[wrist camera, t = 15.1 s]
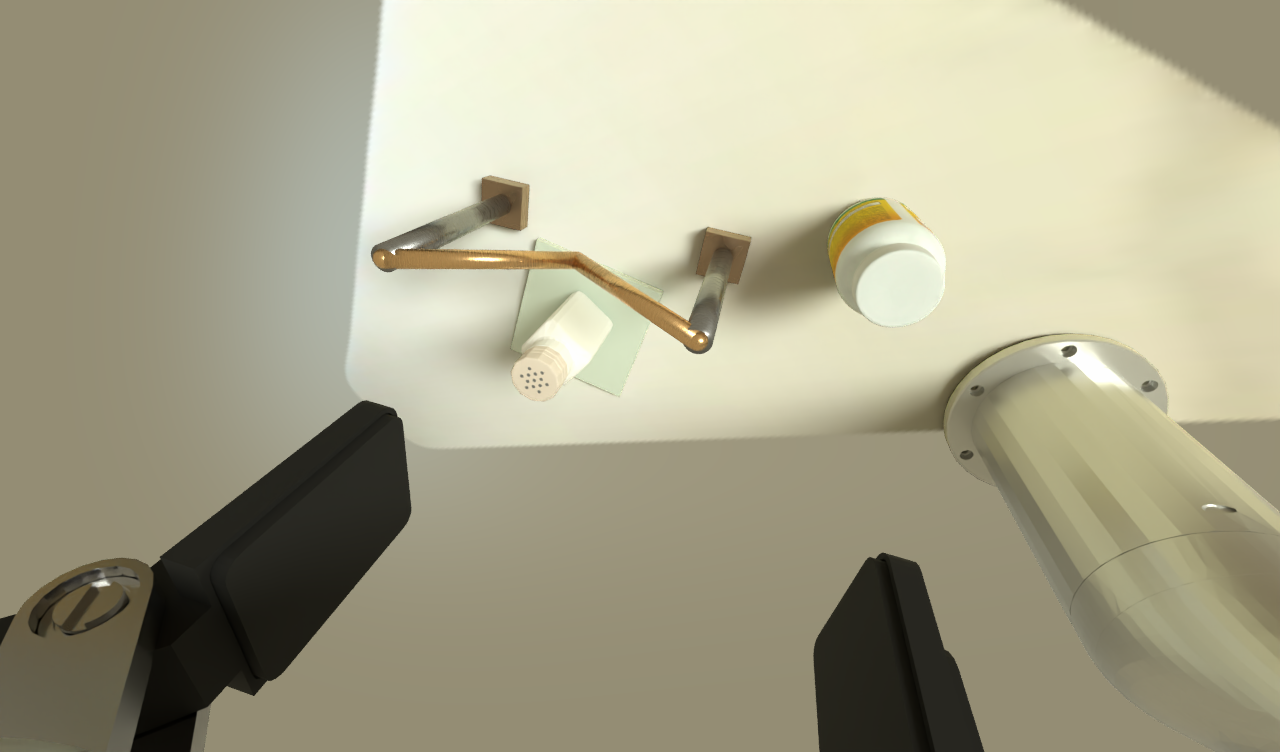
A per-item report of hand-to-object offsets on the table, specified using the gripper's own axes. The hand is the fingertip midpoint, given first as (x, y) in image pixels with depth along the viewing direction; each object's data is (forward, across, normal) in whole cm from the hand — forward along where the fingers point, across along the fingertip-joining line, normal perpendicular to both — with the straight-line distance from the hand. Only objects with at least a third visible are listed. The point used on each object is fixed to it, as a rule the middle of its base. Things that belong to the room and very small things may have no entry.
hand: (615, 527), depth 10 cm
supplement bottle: (+28, -9, 0) cm, 30 cm away
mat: (+28, +9, +11) cm, 32 cm away
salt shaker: (+28, +9, +10) cm, 31 cm away
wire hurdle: (+28, +8, +3) cm, 29 cm away
